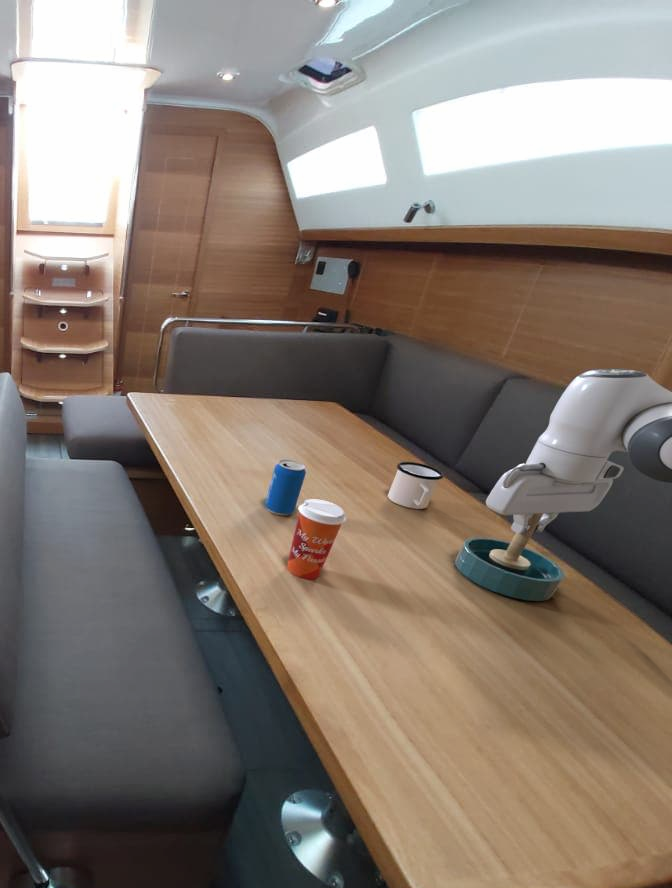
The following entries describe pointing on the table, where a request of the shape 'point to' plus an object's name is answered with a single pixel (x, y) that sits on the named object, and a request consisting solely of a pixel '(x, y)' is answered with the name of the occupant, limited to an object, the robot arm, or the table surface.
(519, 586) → the bowl
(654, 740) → the table surface
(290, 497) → the beverage can
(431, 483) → the mug
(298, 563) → the paper cup
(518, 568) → the wooden peg on disc
